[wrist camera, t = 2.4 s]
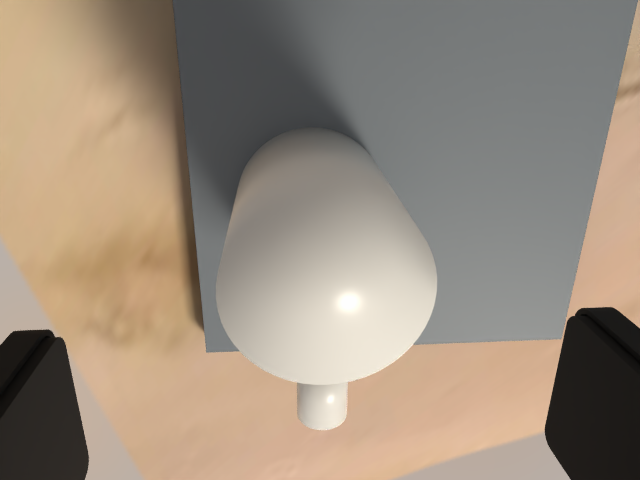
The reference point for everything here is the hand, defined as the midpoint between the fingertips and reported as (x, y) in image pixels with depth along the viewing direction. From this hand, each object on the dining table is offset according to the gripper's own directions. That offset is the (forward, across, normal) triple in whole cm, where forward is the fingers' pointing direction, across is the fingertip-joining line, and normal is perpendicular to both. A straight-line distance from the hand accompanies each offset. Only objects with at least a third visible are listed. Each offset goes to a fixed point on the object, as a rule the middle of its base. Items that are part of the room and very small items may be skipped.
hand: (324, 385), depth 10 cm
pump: (+9, 0, 0) cm, 9 cm away
